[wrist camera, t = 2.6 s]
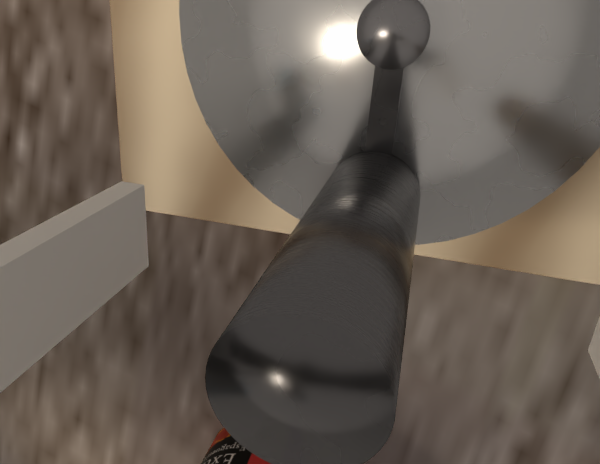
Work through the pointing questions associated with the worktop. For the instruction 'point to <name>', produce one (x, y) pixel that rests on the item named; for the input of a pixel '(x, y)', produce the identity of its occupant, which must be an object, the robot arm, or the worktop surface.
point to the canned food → (229, 452)
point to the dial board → (260, 210)
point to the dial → (373, 181)
